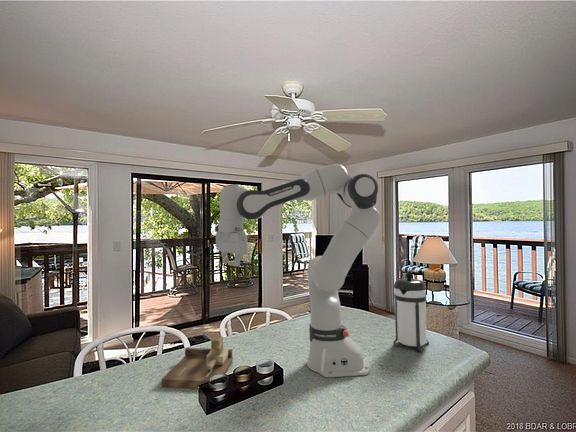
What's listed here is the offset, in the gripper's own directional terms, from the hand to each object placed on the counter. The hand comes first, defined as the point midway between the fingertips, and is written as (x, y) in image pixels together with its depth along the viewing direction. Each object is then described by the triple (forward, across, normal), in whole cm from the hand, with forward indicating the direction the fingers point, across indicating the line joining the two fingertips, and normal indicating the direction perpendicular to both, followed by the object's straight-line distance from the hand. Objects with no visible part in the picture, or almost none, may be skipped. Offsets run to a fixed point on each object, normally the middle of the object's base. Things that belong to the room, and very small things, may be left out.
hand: (231, 264), depth 112 cm
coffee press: (+36, -31, -68) cm, 83 cm away
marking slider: (+34, -2, +7) cm, 35 cm away
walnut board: (+37, 0, +12) cm, 39 cm away
